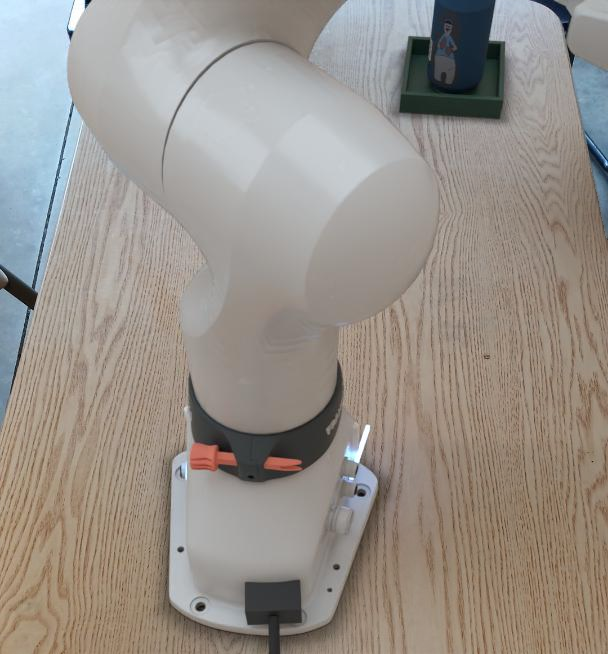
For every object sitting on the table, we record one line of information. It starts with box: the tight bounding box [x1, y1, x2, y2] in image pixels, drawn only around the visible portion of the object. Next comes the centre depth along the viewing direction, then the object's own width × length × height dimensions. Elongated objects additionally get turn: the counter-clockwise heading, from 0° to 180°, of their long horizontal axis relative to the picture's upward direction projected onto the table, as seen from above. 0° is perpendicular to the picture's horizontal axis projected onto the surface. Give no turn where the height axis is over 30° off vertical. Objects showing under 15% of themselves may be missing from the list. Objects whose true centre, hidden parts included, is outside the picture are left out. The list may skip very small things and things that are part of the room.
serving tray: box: [398, 35, 506, 120], centre depth 103 cm, size 12×12×2 cm
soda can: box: [427, 0, 497, 95], centre depth 98 cm, size 7×7×12 cm
